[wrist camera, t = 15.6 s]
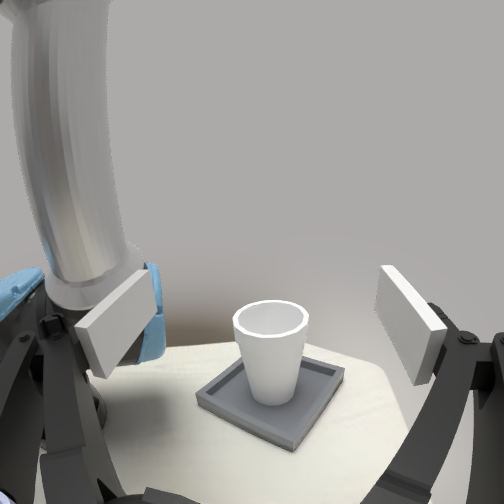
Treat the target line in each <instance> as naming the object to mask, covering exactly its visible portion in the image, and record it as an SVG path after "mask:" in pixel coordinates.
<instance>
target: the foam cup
mask: <svg viewBox="0 0 504 504" xmlns="http://www.w3.org/2000/svg"><path fill="white" fill-rule="evenodd" d="M233 327H234V334H235V339H236V343H238V345H239V348H240V352H241V356H242V359H243V363H244V367H245V370H246V374H247V378H248V381H249V385H250V388H251V392H252V395H253V398H254V399H255V400H256V401H258V402H259V403H261V404H264V405H267V406H277V405H281V404H283V403H286V402H288V401H289V400H290V399H291V398H292V397H293V395H294V391H295V387H296V382H297V378H298V373H299V368H300V363H301V359H302V354H303V349H304V343H305V341H306V340H307V335H308V328H309V315H308V313H307V312H306V310H305V309H304V308H303V307H301V306H299V305H297V304H294V303H292V302H286V301H281V300H270V301H260V302H256V303H252V304H248V305H246V306H245V307H243V308H241V309H239V310H238V311H237V312H236V314H235V315H234V317H233Z"/></svg>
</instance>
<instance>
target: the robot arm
mask: <svg viewBox="0 0 504 504" xmlns="http://www.w3.org/2000/svg"><path fill="white" fill-rule="evenodd" d="M111 1H112V0H0V14H1V15H2V16H4V17H5V18H7V19H8V20H9V21H11V22H12V23H13V31H12V45H11V46H12V47H11V93H12V108H13V119H14V128H15V135H16V143H17V149H18V155H19V160H20V166H21V171H22V175H23V180H24V184H25V188H26V192H27V196H28V200H29V204H30V208H31V211H32V214H33V218H34V221H35V225H36V228H37V231H38V234H39V237H40V240H41V243H42V246H43V249H44V252H45V254H46V257H47V260H48V262H49V264H50V269H49V271H48V273H47V276H46V279H44V277H45V276H44V273H43V272H42V270H41V269H40V268H38V267H36V268H35V267H32V268H28V269H24V270H22V271H19V272H16V273H15V274H12V275H10V276H8V277H6V278H4V279H2V280H0V504H33V503H34V494H35V481H36V472H37V463H38V456H39V449H40V447H42V448H44V449H46V450H47V454H41V456H40V469H41V476H42V482H43V488H44V493H45V498H46V503H47V504H200V503H198V502H195V501H193V500H190V499H188V498H186V497H183V496H181V495H177V494H173V493H168V492H164V491H160V490H156V489H152V488H149V487H146V490H145V492H144V494H136V495H126V494H125V492H124V490H123V489H122V487H121V485H120V482H119V480H118V477H117V475H116V472H115V469H114V467H113V464H112V461H111V458H110V455H109V453H108V450H107V447H106V443H105V440H104V437H103V434H102V430H101V429H102V427H103V425H104V423H105V419H106V407H105V404H104V402H103V400H102V398H101V396H100V394H99V392H98V391H97V390H96V388H95V387H94V386H93V385H92V384H91V383H90V382H89V378H88V375H87V373H86V370H88V369H91V371H92V373H93V375H94V376H96V377H100V378H104V379H107V378H108V377H109V375H110V374H111V372H112V371H113V370H114V368H115V367H118V366H127V365H138V364H140V363H141V362H146V361H150V360H155V359H158V358H160V357H161V356H162V355H163V354H164V352H165V349H166V334H165V322H164V314H163V304H162V291H161V282H160V275H159V269H158V266H157V265H156V264H154V263H149V262H146V263H144V260H143V256H142V254H141V252H140V250H139V249H138V248H137V247H136V246H135V245H133V244H132V243H130V242H128V241H125V238H124V233H123V228H122V223H121V217H120V212H119V206H118V200H117V194H116V188H115V181H114V173H113V166H112V157H111V149H110V138H109V127H108V114H107V113H108V112H107V93H106V42H107V41H106V40H107V21H108V9H109V4H110V3H111ZM375 311H376V313H377V315H378V317H379V319H380V320H381V322H382V324H383V326H384V328H385V330H386V332H387V334H388V336H389V337H390V340H391V341H392V343H393V345H394V347H395V349H396V351H397V353H398V355H399V357H400V359H401V361H402V363H403V366H404V367H405V370H406V372H407V374H408V376H409V378H410V380H411V382H412V384H413V386H417V385H422V384H427V383H429V381H430V379H431V376H432V373H434V375H435V376H436V379H435V381H434V384H433V386H432V388H431V390H430V392H429V395H428V397H427V399H426V401H425V403H424V405H423V407H422V409H421V411H420V413H419V415H418V417H417V419H416V421H415V422H414V425H413V426H412V428H411V430H410V431H409V433H408V435H407V437H406V438H405V440H404V442H403V444H402V445H401V447H400V449H399V450H398V452H397V453H396V455H395V457H394V458H393V460H392V461H391V463H390V464H389V466H388V467H387V469H386V470H385V472H384V473H383V474H382V475H381V477H380V478H379V479H378V481H377V482H376V484H375V485H374V486H373V488H372V489H371V490H370V492H369V493H368V494H367V495H366V497H365V498H364V499H363V501H362V502H361V503H360V504H428V502H429V500H430V498H431V493H430V490H431V488H432V486H433V484H434V482H435V480H436V478H437V476H438V474H439V472H440V470H441V467H442V465H443V463H444V461H445V459H446V456H447V454H448V451H449V449H450V447H451V444H452V442H453V439H454V436H455V434H456V431H457V429H458V426H459V423H460V420H461V417H462V414H463V411H464V407H465V404H466V401H467V397H468V394H469V390H473V397H474V438H473V455H472V465H471V474H470V482H469V489H468V495H467V500H466V504H504V332H501V333H497V334H496V335H495V336H494V339H493V342H492V343H480V341H479V339H478V337H477V336H476V335H474V334H473V333H470V332H468V331H459V330H458V328H457V327H456V326H455V325H454V324H453V322H452V321H451V320H450V319H448V317H447V316H446V315H445V314H444V312H443V311H442V310H441V309H440V308H439V307H438V306H436V305H434V304H433V303H426V302H425V301H424V300H423V298H422V297H421V296H420V295H419V294H418V293H417V292H416V290H415V289H414V288H413V287H412V286H411V285H410V284H409V283H408V282H407V280H406V279H404V277H403V276H402V275H401V274H400V273H399V272H398V271H397V270H396V269H395V268H394V266H393V265H386V266H385V265H383V266H380V270H379V280H378V288H377V296H376V303H375Z"/></svg>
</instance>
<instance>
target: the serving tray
mask: <svg viewBox="0 0 504 504" xmlns="http://www.w3.org/2000/svg"><path fill="white" fill-rule="evenodd" d="M344 370H345V368H342V367H339V366H335V365H331V364H328V363H324V362H321V361H318V360H314V359H311V358H307V357H304V356H302V359H301V363H300V368H299V373H298V378H297V382H296V387H295V391H294V395H293V397H292V398H291V399H290V400H289V401H288V402H286V403H283V404H281V405H277V406H267V405H264V404H261V403H259V402H258V401H256V400H255V399H254V398H253V395H252V392H251V388H250V385H249V381H248V378H247V374H246V370H245V367H244V363H243V359H242V357H241V358H240V359H238V360H237V361H236V362H235V363H233V364H232V365H231V366H230V367H228V368H227V369H226V370H225V371H223V372H222V373H221V374H220V375H218V376H217V377H216V378H215V379H213V380H212V381H211V382H209V383H208V384H207V385H205V386H204V387H203V388H202V389H200V390H199V391H198V392H196V393H195V394H196V398H197V401H198V405H200V406H202V407H203V408H205V409H207V410H209V411H210V412H212V413H214V414H215V415H217V416H219V417H221V418H223V419H224V420H226V421H228V422H230V423H232V424H234V425H236V426H238V427H239V428H241V429H243V430H245V431H247V432H249V433H251V434H253V435H255V436H257V437H259V438H262V439H264V440H266V441H268V442H270V443H272V444H275V445H277V446H279V447H281V448H284V449H286V450H288V451H291V452H294V450H295V449H296V448H297V446H298V445H299V444H300V442H301V441H302V440H303V438H304V437H305V436H306V434H307V433H308V432H309V430H310V429H311V427H312V426H313V425H314V423H315V422H316V420H317V419H318V417H319V416H320V415H321V413H322V412H323V410H324V409H325V407H326V406H327V404H328V403H329V401H330V400H331V398H332V396H333V395H334V393H335V392H336V390H337V389H338V387H339V385H340V384H341V382H342V380H343V376H344Z"/></svg>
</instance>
